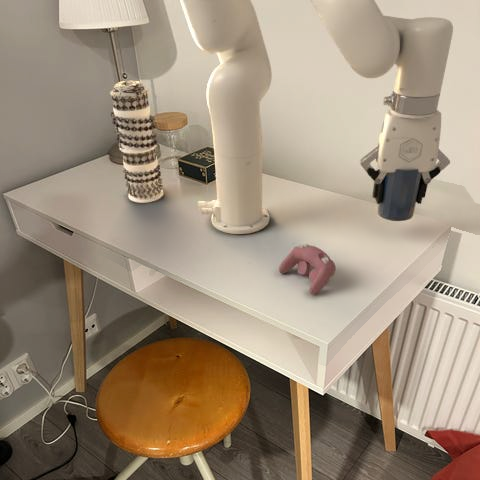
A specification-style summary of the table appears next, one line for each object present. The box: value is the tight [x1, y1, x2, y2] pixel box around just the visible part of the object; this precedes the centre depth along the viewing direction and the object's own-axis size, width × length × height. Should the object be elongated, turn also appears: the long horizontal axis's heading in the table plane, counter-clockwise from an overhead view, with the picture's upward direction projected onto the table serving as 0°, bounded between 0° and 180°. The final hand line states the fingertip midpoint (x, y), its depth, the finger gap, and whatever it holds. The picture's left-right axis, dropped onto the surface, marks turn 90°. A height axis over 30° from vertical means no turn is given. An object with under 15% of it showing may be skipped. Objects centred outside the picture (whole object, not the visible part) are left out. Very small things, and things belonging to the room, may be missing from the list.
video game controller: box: [278, 243, 337, 296], centre depth 86 cm, size 10×5×7 cm, turn 35°
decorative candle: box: [109, 80, 164, 204], centre depth 109 cm, size 9×9×25 cm
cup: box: [377, 169, 422, 222], centre depth 92 cm, size 7×7×10 cm
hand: (397, 200), depth 93 cm, fingers closed on cup, 6 cm apart
